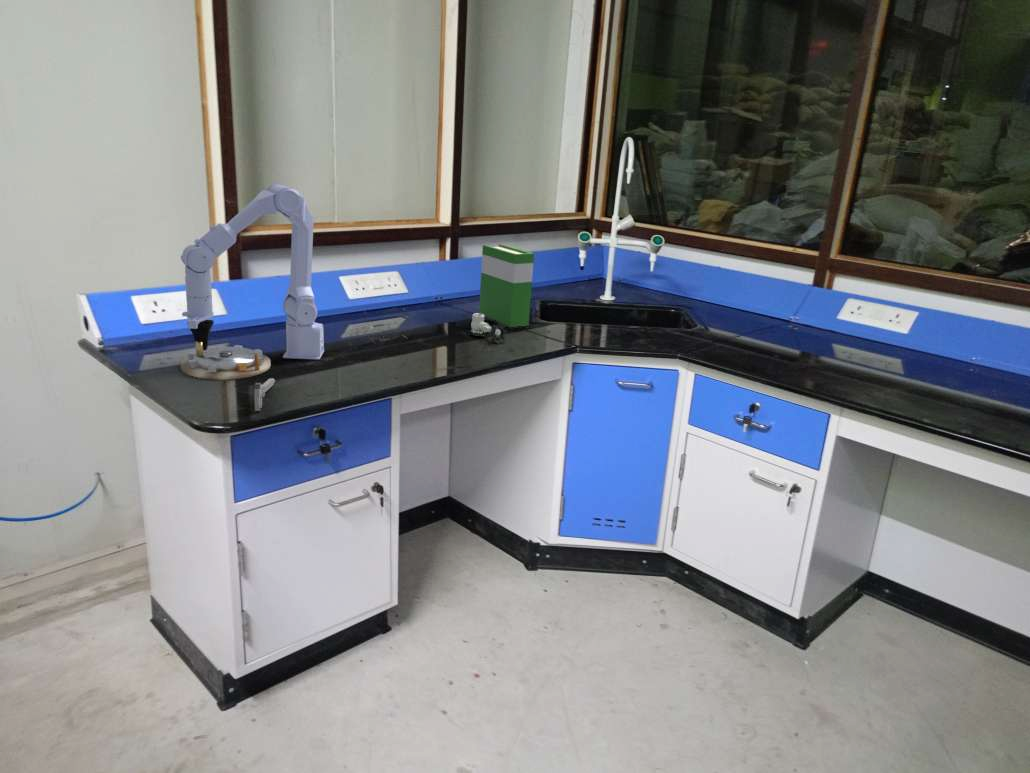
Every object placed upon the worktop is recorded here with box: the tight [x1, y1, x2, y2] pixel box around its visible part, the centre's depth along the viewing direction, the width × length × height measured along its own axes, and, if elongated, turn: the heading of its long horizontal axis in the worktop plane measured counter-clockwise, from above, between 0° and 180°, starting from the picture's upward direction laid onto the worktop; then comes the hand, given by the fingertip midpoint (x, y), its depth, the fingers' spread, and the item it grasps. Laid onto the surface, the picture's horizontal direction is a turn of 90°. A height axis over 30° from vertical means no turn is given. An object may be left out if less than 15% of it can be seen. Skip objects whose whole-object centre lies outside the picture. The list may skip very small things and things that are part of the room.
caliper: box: [253, 377, 276, 412], centre depth 172 cm, size 20×1×6 cm, turn 8°
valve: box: [470, 312, 508, 343], centre depth 230 cm, size 7×7×12 cm
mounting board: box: [180, 353, 272, 381], centre depth 190 cm, size 21×21×5 cm
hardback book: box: [478, 243, 535, 327], centre depth 248 cm, size 18×7×24 cm, turn 37°
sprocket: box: [187, 341, 264, 373], centre depth 189 cm, size 18×18×5 cm
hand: (202, 349), depth 188 cm, fingers closed, pressing on sprocket
